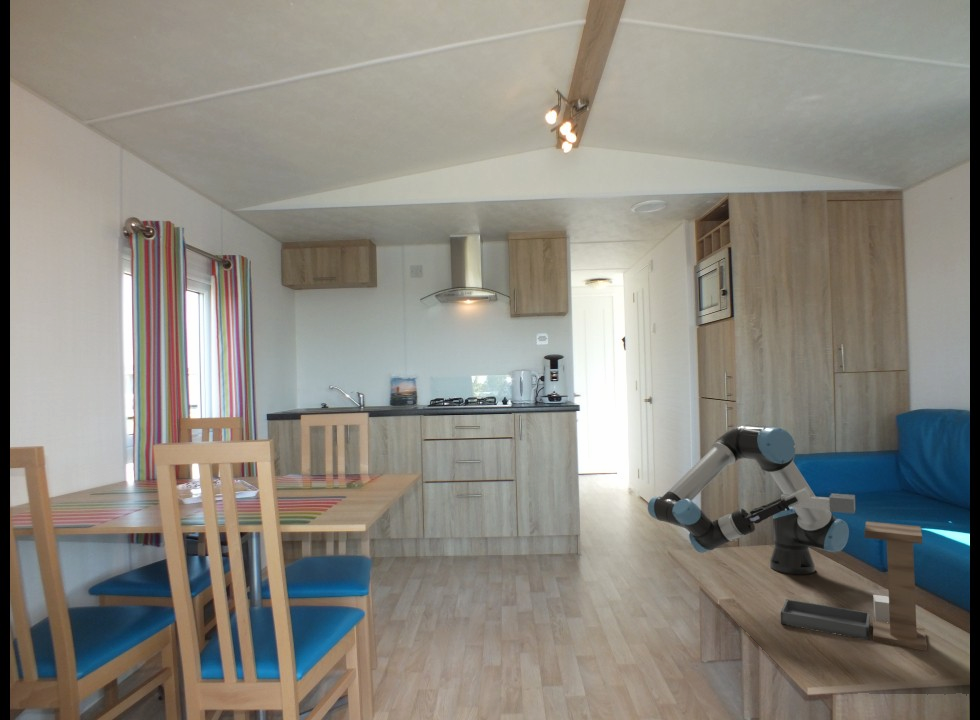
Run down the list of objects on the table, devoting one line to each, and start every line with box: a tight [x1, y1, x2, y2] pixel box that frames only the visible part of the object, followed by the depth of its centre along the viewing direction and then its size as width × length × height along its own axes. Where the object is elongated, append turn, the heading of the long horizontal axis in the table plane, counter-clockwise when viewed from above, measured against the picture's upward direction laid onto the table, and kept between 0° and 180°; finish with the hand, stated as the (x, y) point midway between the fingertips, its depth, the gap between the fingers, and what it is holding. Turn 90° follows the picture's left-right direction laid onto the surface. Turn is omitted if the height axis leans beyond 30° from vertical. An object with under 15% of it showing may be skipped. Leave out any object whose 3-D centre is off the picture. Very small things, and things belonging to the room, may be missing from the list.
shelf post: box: [864, 521, 928, 652], centre depth 170 cm, size 12×13×30 cm
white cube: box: [872, 594, 890, 623], centre depth 182 cm, size 6×6×6 cm
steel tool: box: [780, 492, 856, 514], centre depth 181 cm, size 7×19×4 cm, turn 57°
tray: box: [780, 598, 871, 641], centre depth 179 cm, size 12×22×4 cm, turn 57°
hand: (808, 492), depth 182 cm, fingers closed on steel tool, 3 cm apart
